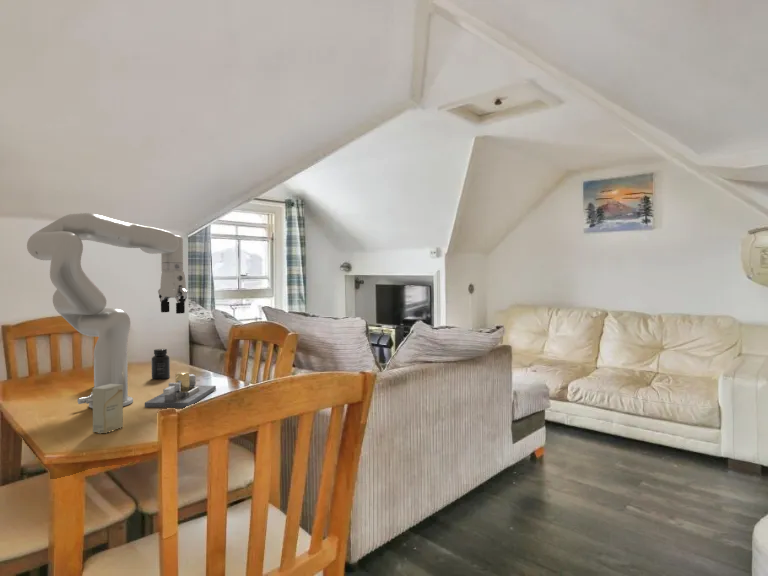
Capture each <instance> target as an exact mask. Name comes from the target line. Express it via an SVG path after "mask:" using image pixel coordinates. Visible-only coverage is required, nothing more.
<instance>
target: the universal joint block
mask: <svg viewBox="0 0 768 576" xmlns="http://www.w3.org/2000/svg"><path fill="white" fill-rule="evenodd" d="M189 374H190V372H189V371H182V372H176V373H175V376H174V377H175V383H181V392H188V391H190V383H189Z"/></svg>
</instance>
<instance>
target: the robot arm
mask: <svg viewBox="0 0 768 576" xmlns="http://www.w3.org/2000/svg"><path fill="white" fill-rule="evenodd" d="M83 241H90V242H96V243H101V244H106V245H111V246H114V247H118V248H126V249H140V251H142V252H144V253H147V254H149V255H150V254H151V255H153V254H154V255H155V254H156V255H157V254H161V257H160V258H161V259H160V260H161V263H160V264H161V267H160V268H161V273H160V274H161V275H160V288H159V289H158V290H157V294H158V298H159V302H160V312H161V313H170V299H171V298H173V299H175V300H176V302H175V314H179V315H181V314H185V308H186V305H185V303H186V300H187V295H188V293H189V292H188V290H187V283H186V277H185V271H184V239H183V237H182V236H181V235H177V234H175V233H173V232H171V231H168V230H164V229H161V228H156V227H153V226H148V225H147V226H146V225H143V224H142V225H140V224H136V223H132V222H131V223H130V222H126V221H122V220H119V219H114V218H111V217H108V216H104V215H100V214H96V213H92V212H83V213H82V212H80V213H70V214H66V215H64V216H62V217H60V218H58V219H56V220H55V221H53V222H51V223H49V224H47V225H46V226H44V227H42V228H41V229H39V230H37V231H36V232H33V234H31V235H30V236H29V238H28V240H27V242H26V249H27V251H28V253H29V255H30V256H32V258H34V259H37V260H39V261H50V266H49V278H50V281H51V283H52V285H53V286H54V288H56V290H55V291H54V293H53V295H52V304H53V307H54V309H55V310H56V312H57V313H58V314H59V315H60V316H61V317H62V318H63V319H64V320H65V321H66V322H67V323H68V324H69V325H71V326H72V327H73V329H74V330H76V331H77V332H78V333H80V334H81V335H83V336H88V337H98V338H97V341H96V343H95V345H94V349H93V388H96V387H100V386H104V385H108V384H122V385H123V407H125V406H128V405H130V404H132V403H133V402H134V397H132V396H129V395H128V394H129V393H128V392H129V391H128V390H129V388H128V387H129V385H128V377H129V376H128V374H129V373H128V339H129V333H130V328H131V318H130V315H129V314H128V313H127V312H126V311H124V310H123V309H119V308H116V307H115V308H113V307H106V306H107V298H106V296H105V295H104V293H103V291H101V289H100V288H99V287H98V286H97V285H96V284H95V283H94V282H93V281H92V280H91V279H90V278H89V276H88V275H87V274H86V273H85V272H84V270H83V268H82V264H81V263H82V256H83V251H84V245H83ZM77 404H78V405H81V404H83V405H84V404H87V405H88V407H89V408H90V409H93V391H91V392H90V394H89V395H88V396H82V397H79V398H77Z"/></svg>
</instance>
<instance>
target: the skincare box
mask: <svg viewBox="0 0 768 576" xmlns="http://www.w3.org/2000/svg"><path fill="white" fill-rule="evenodd" d="M92 392H93V408H92V433H93V432H98V433H97V434H101V433H106V434H108V433H107V432H109V431H112V430H115V429H118V428H120V429H122V428H121V427H123V428H124V406H123V385H122V384H108V385H104V386H100V387H96V388H94V387H92ZM118 430H119V429H118ZM115 431H116V430H115ZM112 432H113V431H112ZM109 433H110V432H109Z"/></svg>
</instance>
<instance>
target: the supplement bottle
mask: <svg viewBox="0 0 768 576" xmlns="http://www.w3.org/2000/svg"><path fill="white" fill-rule="evenodd" d="M153 355H154V356H152V357H151V363H150V364H151V379H152V380H154V379H161V380H167V379H169V378H170V376H171V374H170V373H171V365H170V364H171V363H170V358H171V357H170V356H169V355H168V349H167V348H156V349H153Z"/></svg>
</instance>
